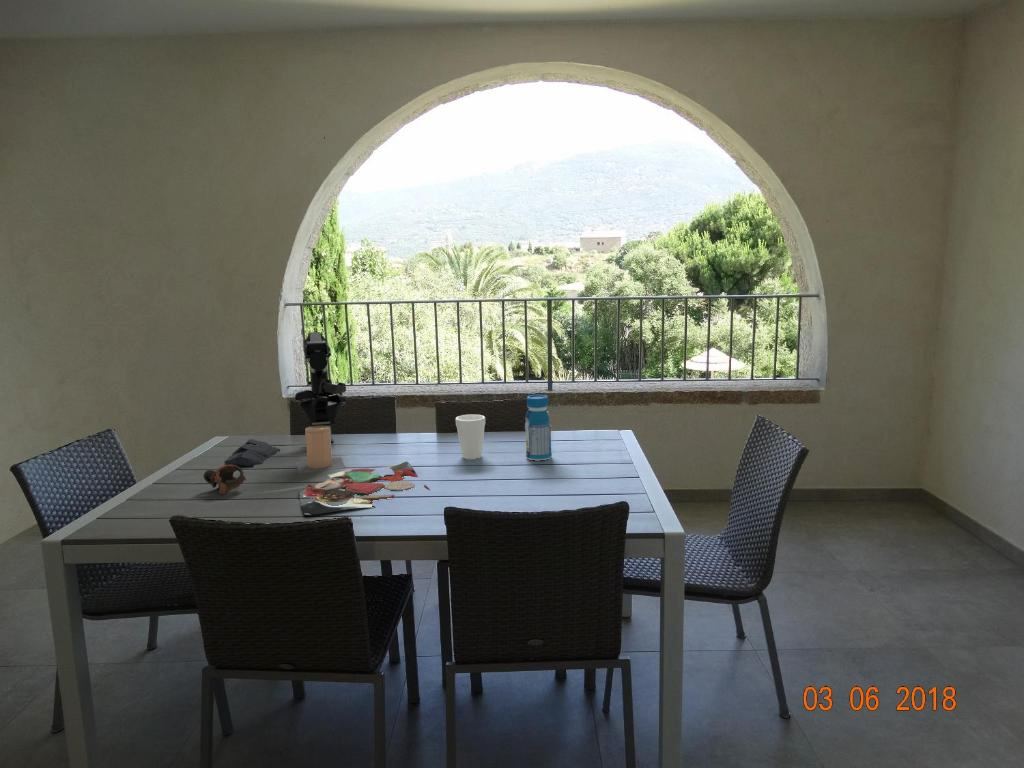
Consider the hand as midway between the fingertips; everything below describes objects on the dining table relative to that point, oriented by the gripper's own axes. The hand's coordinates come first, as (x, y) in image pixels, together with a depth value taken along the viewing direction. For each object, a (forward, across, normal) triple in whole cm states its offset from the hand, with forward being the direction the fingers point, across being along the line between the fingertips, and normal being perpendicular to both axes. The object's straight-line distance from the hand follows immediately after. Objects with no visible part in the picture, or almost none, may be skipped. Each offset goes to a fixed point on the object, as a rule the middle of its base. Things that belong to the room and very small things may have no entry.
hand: (323, 423), depth 243 cm
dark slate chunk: (+8, -8, +26) cm, 28 cm away
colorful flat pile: (+26, -19, -28) cm, 43 cm away
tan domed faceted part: (+14, -7, -3) cm, 16 cm away
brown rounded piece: (+20, -34, +8) cm, 41 cm away
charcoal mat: (+15, -7, -3) cm, 17 cm away
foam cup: (+18, +20, -43) cm, 51 cm away
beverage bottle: (+22, +27, -64) cm, 72 cm away
